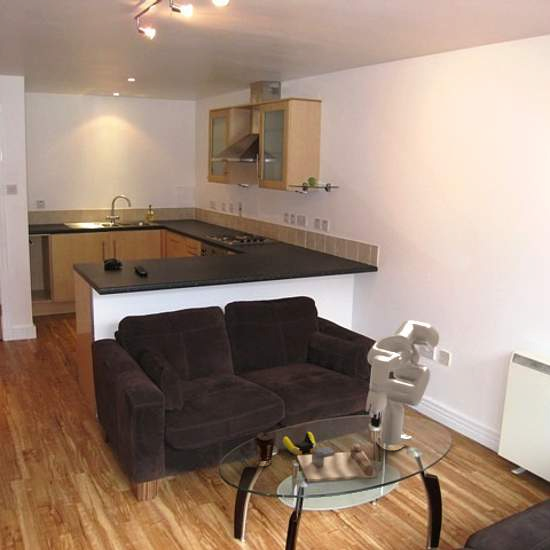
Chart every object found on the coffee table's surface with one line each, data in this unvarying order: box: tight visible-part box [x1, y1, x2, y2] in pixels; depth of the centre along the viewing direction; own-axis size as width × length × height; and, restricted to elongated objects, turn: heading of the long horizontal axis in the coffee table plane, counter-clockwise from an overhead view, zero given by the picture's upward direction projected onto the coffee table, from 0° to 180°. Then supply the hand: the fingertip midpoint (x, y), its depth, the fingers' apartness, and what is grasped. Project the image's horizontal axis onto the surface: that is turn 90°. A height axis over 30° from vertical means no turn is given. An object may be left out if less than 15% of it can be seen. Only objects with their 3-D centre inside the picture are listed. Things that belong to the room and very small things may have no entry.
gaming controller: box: [282, 431, 317, 456], centre depth 270 cm, size 15×6×10 cm
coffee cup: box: [254, 431, 276, 462], centre depth 257 cm, size 9×8×13 cm
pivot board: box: [296, 443, 378, 482], centre depth 257 cm, size 30×18×7 cm, turn 101°
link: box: [350, 446, 374, 476], centre depth 257 cm, size 18×4×3 cm, turn 16°
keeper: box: [311, 445, 336, 468], centre depth 257 cm, size 8×5×6 cm, turn 113°
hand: (375, 425), depth 255 cm, fingers closed
